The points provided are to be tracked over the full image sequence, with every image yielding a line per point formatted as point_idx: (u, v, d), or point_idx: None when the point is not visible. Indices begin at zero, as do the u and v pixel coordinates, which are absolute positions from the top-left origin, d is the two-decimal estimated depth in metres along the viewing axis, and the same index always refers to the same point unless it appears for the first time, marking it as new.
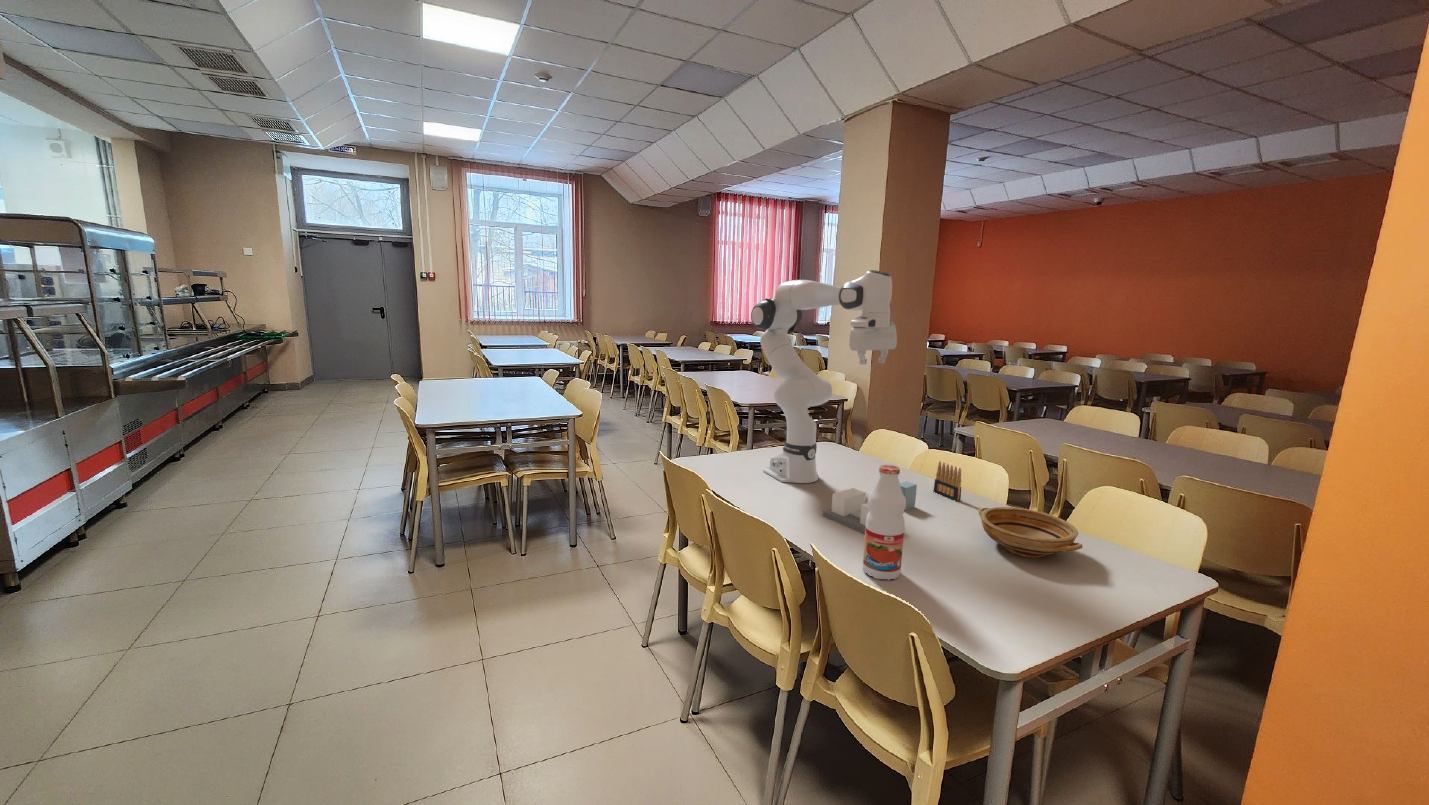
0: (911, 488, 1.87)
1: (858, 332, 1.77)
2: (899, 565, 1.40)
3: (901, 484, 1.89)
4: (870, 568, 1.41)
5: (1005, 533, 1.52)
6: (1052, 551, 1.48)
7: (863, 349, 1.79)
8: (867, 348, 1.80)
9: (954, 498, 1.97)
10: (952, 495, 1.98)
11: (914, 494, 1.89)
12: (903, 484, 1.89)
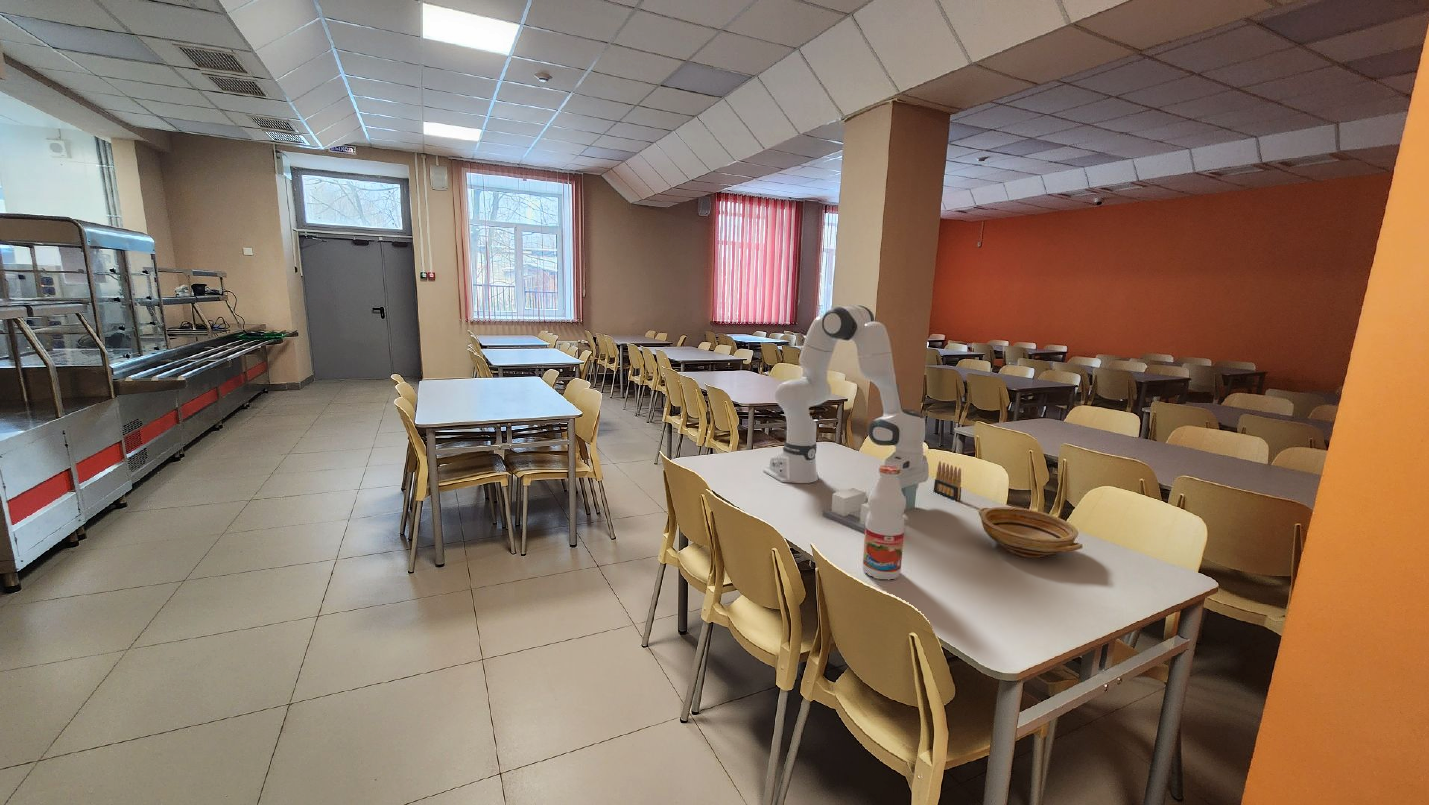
0: (911, 488, 1.87)
1: None
2: (899, 565, 1.40)
3: None
4: (870, 568, 1.41)
5: (1005, 533, 1.52)
6: (1052, 551, 1.48)
7: None
8: (901, 487, 1.84)
9: (954, 498, 1.97)
10: (952, 495, 1.98)
11: (914, 494, 1.89)
12: None
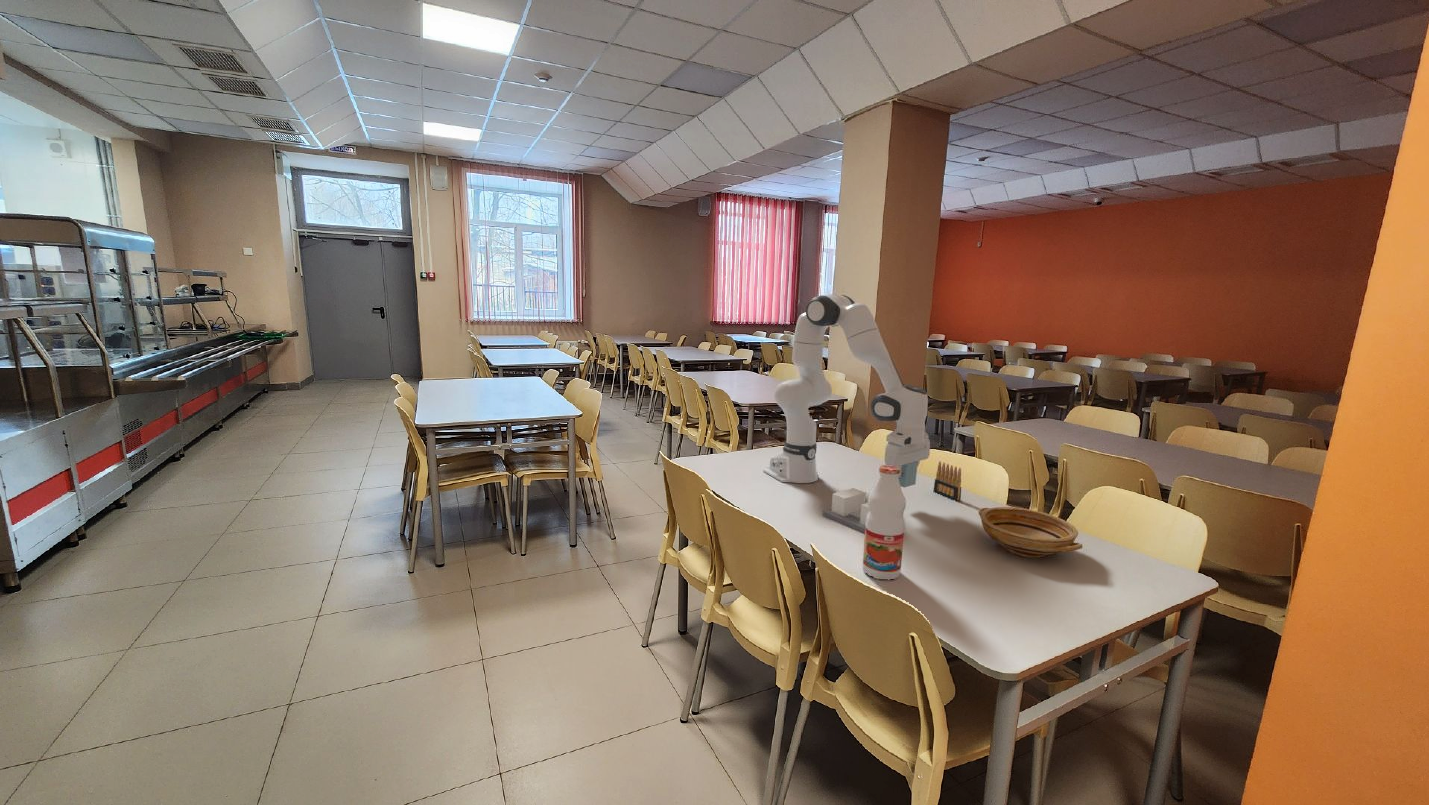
0: (912, 465, 1.86)
1: (894, 449, 1.80)
2: (899, 565, 1.40)
3: None
4: (870, 568, 1.41)
5: (1005, 533, 1.52)
6: (1052, 551, 1.48)
7: (898, 465, 1.82)
8: (902, 463, 1.83)
9: (954, 498, 1.97)
10: (952, 495, 1.98)
11: (915, 471, 1.88)
12: None
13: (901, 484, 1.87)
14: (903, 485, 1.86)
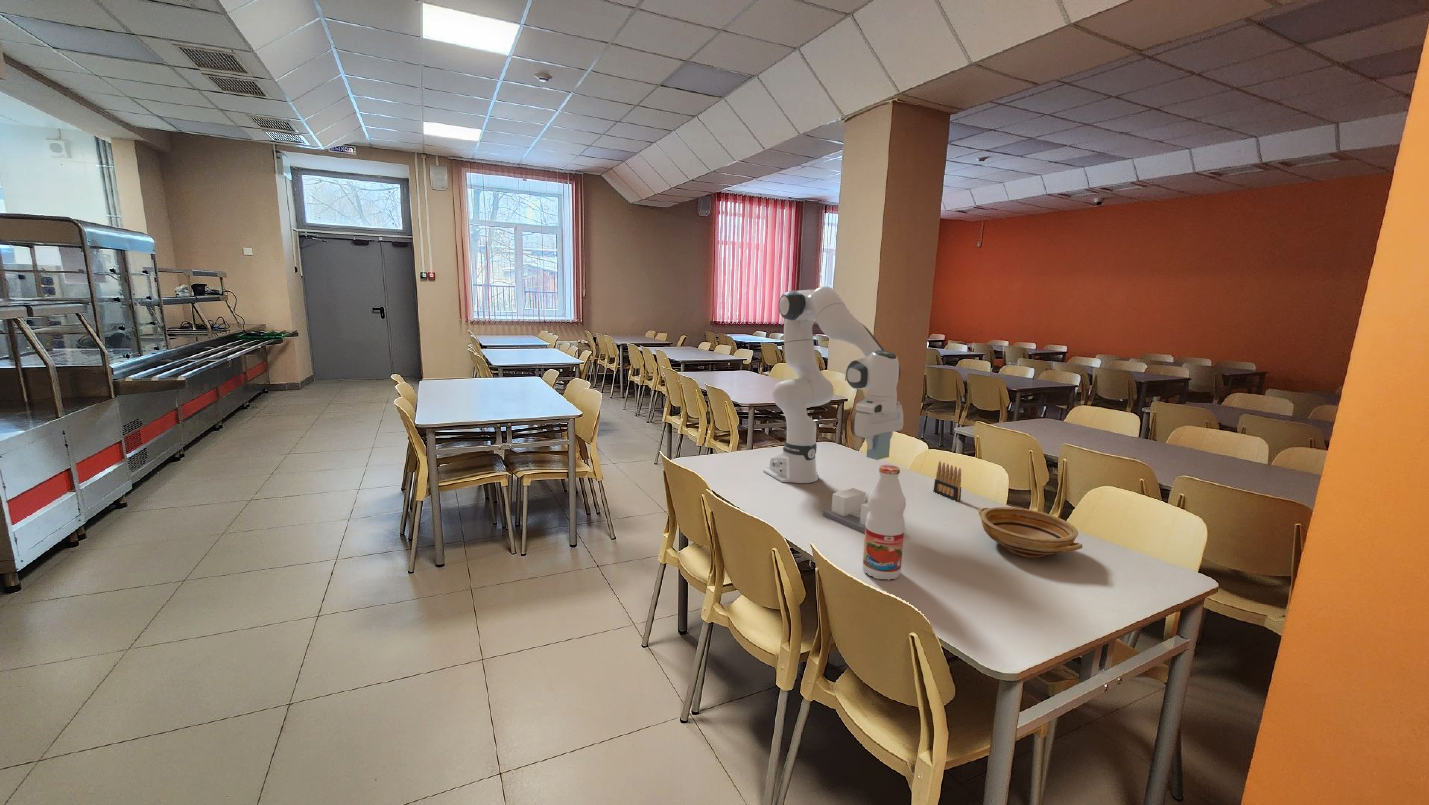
0: (885, 436, 1.74)
1: (864, 418, 1.67)
2: (899, 565, 1.40)
3: None
4: (870, 568, 1.41)
5: (1005, 533, 1.52)
6: (1052, 551, 1.48)
7: (869, 435, 1.69)
8: (873, 433, 1.70)
9: (954, 498, 1.97)
10: (952, 495, 1.98)
11: (888, 442, 1.75)
12: None
13: (873, 456, 1.74)
14: (875, 457, 1.73)
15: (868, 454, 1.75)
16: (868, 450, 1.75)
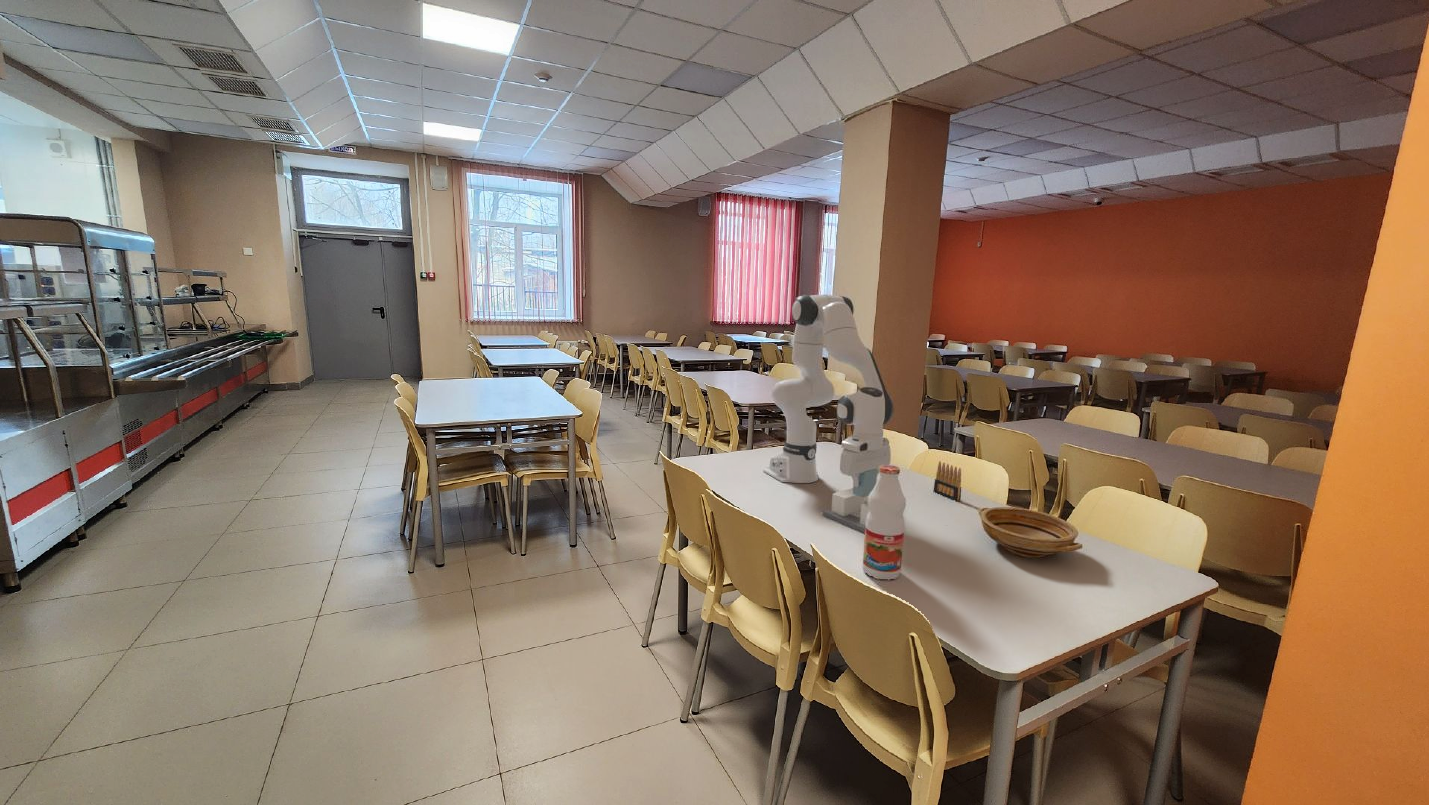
0: (871, 473, 1.73)
1: (849, 456, 1.67)
2: (899, 565, 1.40)
3: None
4: (870, 568, 1.41)
5: (1005, 533, 1.52)
6: (1052, 551, 1.48)
7: (854, 473, 1.68)
8: (859, 471, 1.69)
9: (954, 498, 1.97)
10: (952, 495, 1.98)
11: (874, 479, 1.74)
12: None
13: (859, 493, 1.73)
14: (862, 495, 1.72)
15: (854, 491, 1.75)
16: (854, 487, 1.74)
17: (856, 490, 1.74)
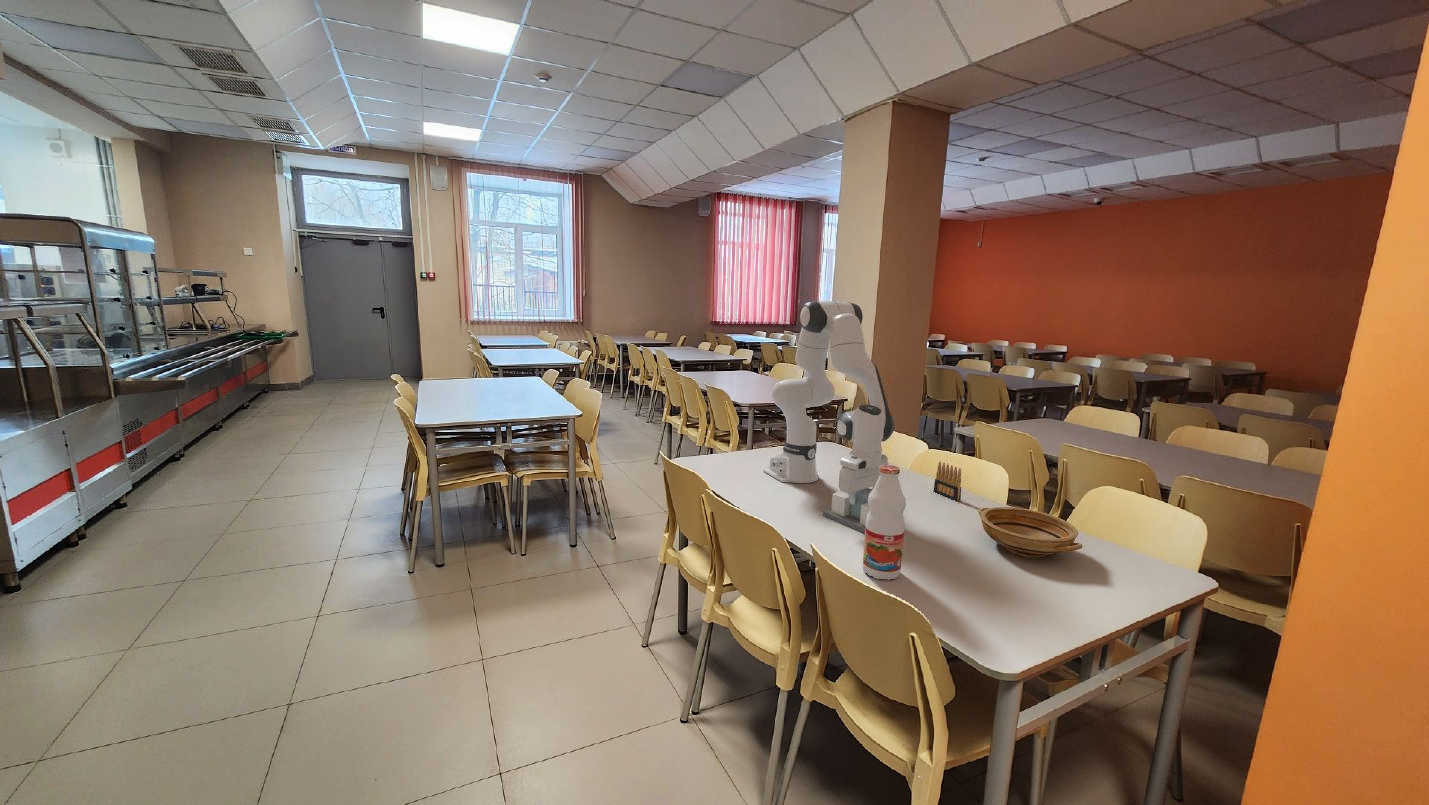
0: None
1: (848, 474, 1.68)
2: (899, 565, 1.40)
3: None
4: (870, 568, 1.41)
5: (1005, 533, 1.52)
6: (1052, 551, 1.48)
7: (853, 491, 1.70)
8: (857, 489, 1.71)
9: (954, 498, 1.97)
10: (952, 495, 1.98)
11: None
12: (861, 490, 1.76)
13: (857, 514, 1.74)
14: None
15: (852, 512, 1.76)
16: (852, 508, 1.76)
17: (854, 511, 1.75)
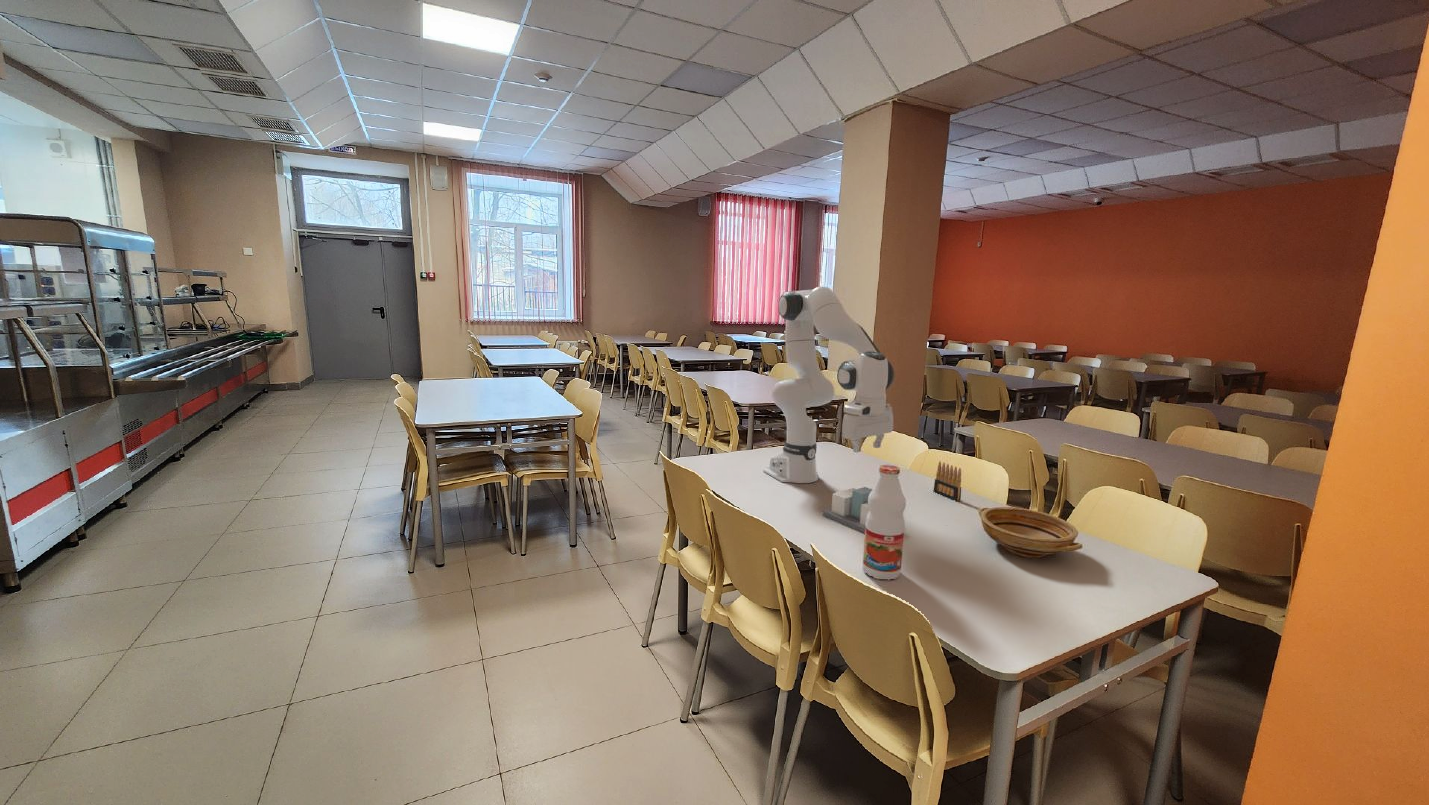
0: None
1: (852, 420, 1.65)
2: (899, 565, 1.40)
3: (858, 490, 1.75)
4: (870, 568, 1.41)
5: (1005, 533, 1.52)
6: (1052, 551, 1.48)
7: (857, 437, 1.67)
8: (861, 436, 1.68)
9: (954, 498, 1.97)
10: (952, 495, 1.98)
11: None
12: (861, 490, 1.76)
13: (857, 514, 1.74)
14: None
15: (852, 512, 1.76)
16: (852, 508, 1.76)
17: (854, 511, 1.75)
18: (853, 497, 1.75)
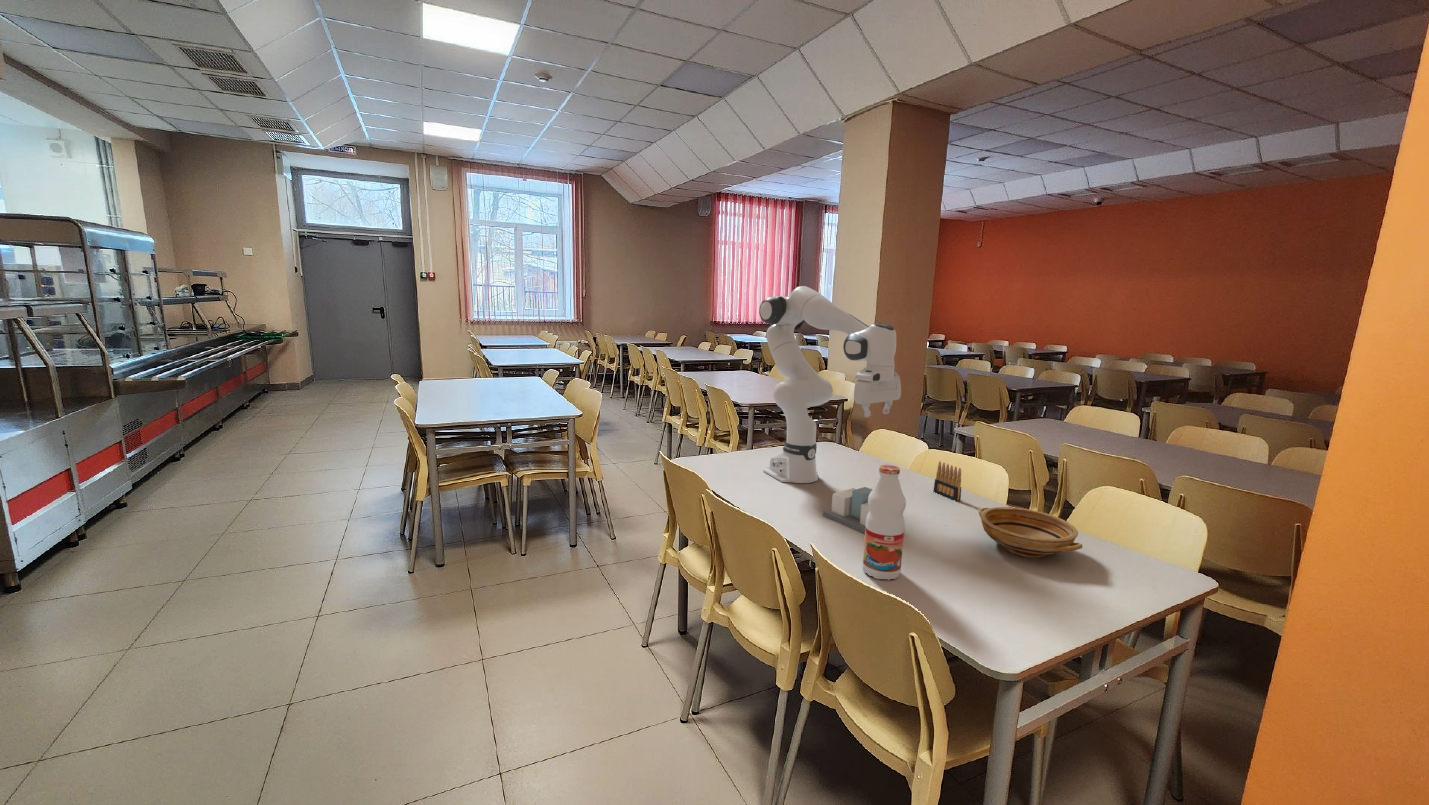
0: None
1: (863, 386, 1.78)
2: (899, 565, 1.40)
3: (858, 490, 1.75)
4: (870, 568, 1.41)
5: (1005, 533, 1.52)
6: (1052, 551, 1.48)
7: (868, 402, 1.79)
8: (871, 401, 1.80)
9: (954, 498, 1.97)
10: (952, 495, 1.98)
11: None
12: (861, 490, 1.76)
13: (857, 514, 1.74)
14: None
15: (852, 512, 1.76)
16: (852, 508, 1.76)
17: (854, 511, 1.75)
18: (853, 497, 1.75)
